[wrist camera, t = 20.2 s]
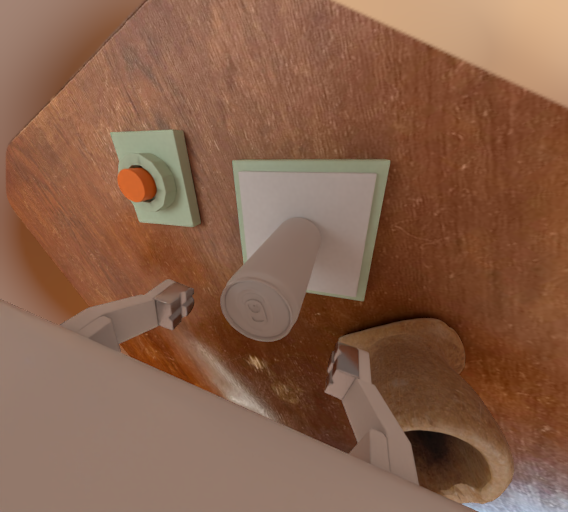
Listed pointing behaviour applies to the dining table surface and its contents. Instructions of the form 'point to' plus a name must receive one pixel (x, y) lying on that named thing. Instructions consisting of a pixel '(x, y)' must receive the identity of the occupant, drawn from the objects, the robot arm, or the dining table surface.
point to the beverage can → (273, 282)
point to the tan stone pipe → (437, 408)
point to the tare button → (137, 184)
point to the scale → (316, 213)
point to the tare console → (161, 175)
